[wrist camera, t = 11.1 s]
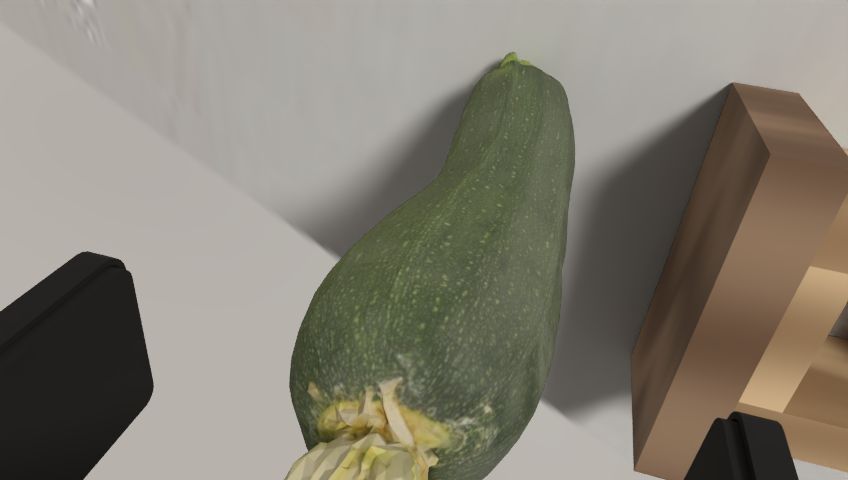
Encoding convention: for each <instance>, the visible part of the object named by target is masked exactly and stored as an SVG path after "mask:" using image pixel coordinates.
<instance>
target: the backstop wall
mask: <svg viewBox="0 0 848 480" xmlns="http://www.w3.org/2000/svg"><path fill="white" fill-rule="evenodd" d="M847 194H848V155H847V154H846V153H845V152H844V150H843V149H842V148H841V147H840V145H839V144H838V143H837V141H836V140H835V139H834V138H833V136H832V135H831V134H830V133H829V131H828V130H827V129H826V127H825V126H824V125H823V124H822V122H821V121H820V120H819V119H818V117H817V116H816V115H815V114H814V112H813V111H812V110H811V108H810V107H809V106H808V105H807V103H806V102H805V101H804V100H803V98H802V97H801V96H800V94H799V93H793V92H787V91H781V90H775V89H769V88H763V87H757V86H751V85H745V84H739V83H732V86H731V88H730V91H729V94H728V96H727V99H726V102H725V104H724V107H723V110H722V113H721V115H720V118H719V121H718V123H717V126H716V129H715V131H714V134H713V137H712V140H711V142H710V145H709V148H708V150H707V153H706V156H705V158H704V161H703V164H702V166H701V169H700V172H699V175H698V177H697V180H696V183H695V185H694V188H693V191H692V193H691V196H690V199H689V202H688V204H687V207H686V210H685V212H684V215H683V218H682V220H681V223H680V226H679V228H678V231H677V234H676V237H675V239H674V242H673V245H672V247H671V250H670V253H669V255H668V258H667V261H666V264H665V266H664V269H663V272H662V274H661V277H660V280H659V282H658V285H657V288H656V290H655V293H654V296H653V299H652V301H651V304H650V307H649V309H648V312H647V315H646V317H645V320H644V323H643V325H642V328H641V331H640V334H639V336H638V339H637V342H636V344H635V347H634V350H633V352H632V355H631V383H632V419H633V456H634V471H636V472H640V473H644V474H647V475H651V476H655V477H658V478H662V479H666V480H684V478H685V476H686V474H687V472H688V470H689V468H690V466H691V464H692V462H693V460H694V458H695V456H696V454H697V452H698V450H699V449H700V447H701V445H702V443H703V441H704V439H705V437H706V435H707V433H708V431H709V429H710V427H711V425H712V423H713V422H714V420H715V419H716V418H717V417H718V418H723V419H727V418H728V417H729V415H730V414H731V413H732V412H733V411H734V409H735V408H736V406H737V404H738V402H739V400H740V398H741V396H742V394H743V392H744V390H745V388H746V387H747V385H748V383H749V381H750V379H751V377H752V375H753V373H754V371H755V369H756V367H757V366H758V364H759V362H760V360H761V358H762V356H763V354H764V352H765V350H766V348H767V346H768V345H769V343H770V341H771V339H772V337H773V335H774V333H775V331H776V329H777V327H778V326H779V324H780V322H781V320H782V318H783V316H784V314H785V312H786V310H787V308H788V306H789V305H790V303H791V301H792V299H793V297H794V295H795V293H796V291H797V289H798V287H799V285H800V284H801V282H802V280H803V278H804V276H805V274H806V272H807V270H808V268H809V266H810V264H811V263H812V261H813V259H814V257H815V255H816V253H817V251H818V249H819V247H820V245H821V244H822V242H823V240H824V238H825V236H826V234H827V232H828V230H829V228H830V226H831V224H832V223H833V221H834V219H835V217H836V215H837V213H838V211H839V209H840V207H841V205H842V203H843V202H844V200H845V198H846V196H847Z"/></svg>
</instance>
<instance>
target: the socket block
mask: <svg viewBox="0 0 848 480" xmlns="http://www.w3.org/2000/svg"><path fill="white" fill-rule="evenodd" d="M843 150H844V152H845V153H846V154H847V155H848V149H843ZM847 302H848V194H847V196H846V198H845V200H844V202H843V203H842V205H841V207H840V209H839V211H838V213H837V215H836V217H835V219H834V221H833V223H832V224H831V226H830V228H829V230H828V232H827V234H826V236H825V238H824V240H823V242H822V244H821V245H820V247H819V249H818V251H817V253H816V255H815V257H814V259H813V261H812V263H811V264H810V266H809V268H808V270H807V272H806V274H805V276H804V278H803V280H802V282H801V284H800V285H799V287H798V289H797V291H796V293H795V295H794V297H793V299H792V301H791V303H790V305H789V306H788V308H787V310H786V312H785V314H784V316H783V318H782V320H781V322H780V324H779V326H778V327H777V329H776V331H775V333H774V335H773V337H772V339H771V341H770V343H769V345H768V346H767V348H766V350H765V352H764V354H763V356H762V358H761V360H760V362H759V364H758V366H757V367H756V369H755V371H754V373H753V375H752V377H751V379H750V381H749V383H748V385H747V387H746V388H745V390H744V392H743V394H742V396H741V398H740V400H739V402H738V404H737V406H736V408H735V409H734V411H738V412H742V413H746V414H750V415H754V416H758V417H762V418H766V419H770V420H774V421H778V422H779V423H780V424H781V425H782V427H783V430H784V432H785V436H786V439H787V442H788V446H789V449H790V453H791V456H792V458H794V459H798V460H802V461H806V462H810V463H814V464H817V465H821V466H825V467H829V468H833V469H837V470H841V471H844V472H848V340H847V339H842V338H838V337H833V336H829V335H828V334H829V333H830V331H831V329H832V327H833V326H834V324H835V322H836V321H837V319H838V317H839V315H840V314H841V312H842V310H843V309H844V307H845V305H846V304H847ZM734 411H733V412H734Z"/></svg>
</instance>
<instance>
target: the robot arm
mask: <svg viewBox="0 0 848 480" xmlns="http://www.w3.org/2000/svg"><path fill="white" fill-rule="evenodd" d="M153 387H154V385H153V378H152V373H151V368H150V364H149V358H148V354H147V349H146V344H145V339H144V333H143V328H142V324H141V318H140V313H139V308H138V303H137V298H136V293H135V288H134V283H133V278H132V275H131V273H130V272H129V271H127V270H126V268H125V265H124V263H123V262H122V261H121V260H119V259H116V258H112V257H108V256H104V255H100V254H96V253H92V252H88V251H87V252H81V253H80V254H78V255H76V256H75V257H73V258H72V259H71V260H69V261H68V262H67V263H65V264H64V265H63V266H61V267H60V268H58V269H57V270H56V271H54V272H53V273H52V274H50V275H49V276H48V277H46V278H45V279H44V280H42V281H41V282H40V283H38V284H37V285H35V286H34V287H33V288H31V289H30V290H29V291H28V292H26V293H25V294H23V295H22V296H21V297H19V298H18V299H17V300H15V301H14V302H13V303H11V304H10V305H8V306H7V307H6V308H4V309H3V310H2V311H0V480H83V479H84V478H85V477H86V475H87V474H88V473H89V472H90V471H91V470H92V469H93V467H94V466H95V465H96V464H97V463H98V462H99V460H100V459H101V458H102V457H103V456H104V454H105V453H106V452H107V451H108V450H109V449H110V447H111V446H112V445H113V444H114V443H115V442H116V440H117V439H118V438H119V437H120V436H121V435H122V433H123V432H124V431H125V430H126V429H127V428H128V426H129V425H130V424H131V423H132V422H133V420H134V419H135V418H136V417H137V416H138V415H139V413H140V412H141V411H142V410H143V409H144V407H145V406H146V405H147V403H148V402H149V400H150V398H151V396H152V392H153ZM684 480H799V479H798V476H797V473H796V469H795V466H794V463H793V459H792V456H791V453H790V449H789V446H788V442H787V439H786V436H785V432H784V430H783V427H782V425H781V424H780V423H779V422H778V421H774V420H770V419H766V418H762V417H758V416H754V415H750V414H746V413H742V412H738V411H734V412H732V413H731V414H730V415H729V417H728V418H727V419H723V418H718V417H717V418H716V419H715V420H714V422H713V423H712V425H711V427H710V429H709V431H708V433H707V435H706V437H705V439H704V441H703V443H702V445H701V447H700V449H699V450H698V452H697V454H696V456H695V458H694V460H693V462H692V464H691V466H690V468H689V470H688V472H687V474H686V476H685V478H684Z"/></svg>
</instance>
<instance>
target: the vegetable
mask: <svg viewBox="0 0 848 480" xmlns="http://www.w3.org/2000/svg"><path fill="white" fill-rule="evenodd" d="M574 167H575V141H574V130H573V124H572V118H571V115H570V110H569V104H568V99H567V95H566V93H565V90H564V88H563V86H562V85H561V83H560V82H559V81H557V80H556V79H555V78H553V77H552V76H550V75H548V74H546V73H545V72H543V71H542V70H540V69H538V68H536V67H535V66H534V65H532V64H530V62H528V61H524V60H521V61H519V60H518V59H517V55H516V53H515V52H512V53H509V54H507V55H506V56H505V58H504V60H503V62H502V64H501V66H500V67H499V68H496V69H495V70H494V71H493V72H491V73H488V74H486V75H485V76H484V77H483V78H482V79H481V80H480V81H479V82H478V84H477V86H476V87H475V89H474V91H473V92H472V94H471V96H470V98H469V100H468V102H467V104H466V106H465V108H464V111H463V115H462V118H461V122H460V125H459V127H458V129H457V132H456V134H455V136H454V139H453V142H452V145H451V148H450V151H449V154H448V157H447V160H446V164H445V166H444V168H443V169H442V171H441V172H440V174H439V176H438V177H437V178H436V179H435V180H434V181H433V182H432V183H431V184H430V185H429V186H427V187H426V188H425V189H423V190H422V191H421V192H419V193H418V194H417V195H415V196H414V197H412V198H411V199H409V200H408V201H407V202H405V203H404V204H402V205H401V206H399V207H398V208H396V209H395V210H394V211H392V212H391V213H390V214H389V215H388V216H386V217H385V218H384V219H383V220H382V221H381V222H379V223H378V224H377V225H376V226H375V227H374V228H372V229H371V230H370V231H369V232H368V233H367V234H366V235H364V236H363V237H362V238H361V239H360V240H359V241H358V242H357V243H356V244H355V245H354V246H353V247H352V248H351V249H350V250H349V251H348V252H347V253H346V254H345V255H344V256H343V257H342V258H341V259H340V261H339V262H338V263H337V264H336V265H335V266H334V267H333V268H332V270H331V271H330V272H329V273H328V275H327V276H326V278H325V279H324V281H323V282H322V284H321V285H320V287H319V288H318V289H317V291H316V292H315V294H314V296H313V299H312V301H311V303H310V306H309V308H308V310H307V313H306V315H305V317H304V320H303V321H302V324H301V327H300V329H299V332H298V336H297V340H296V343H295V347H294V351H293V354H292V360H291V370H290V385H289V386H290V392H291V398H292V403H293V406H294V409H295V412H296V415H297V418H298V422H299V425H300V427H301V431H302V434H303V437H304V440H305V444H306V447H307V449H308V452H307V453H306V454H304V455H303V456H302V457H301V458H300V459H298V460H297V461H296V462H295V463H294V464H293V465H292V467H291V469H290V471H289V472H288V474H287V476H286V478H285V479H284V480H482V479H483V478H485V477H486V476H487V475H488V474H489V473H490V472H491V471H492V470H493V469H494V468H495V467H496V465H497V464H498V463H499V462H500V461H501V460H502V458H504V456H505V455H506V454H507V453H508V452H509V451H510V449H511V448H512V447H513V446H514V444H515V443H516V442H517V441H518V439H519V438H520V436H521V434H522V433H523V431H524V430H525V428H526V426H527V425H528V423H529V421H530V420H531V418H532V416H533V414H534V412H535V410H536V408H537V405H538V403H539V400H540V397H541V394H542V391H543V388H544V385H545V382H546V379H547V376H548V373H549V369H550V364H551V361H552V357H553V354H554V347H555V339H556V333H557V327H558V323H559V318H560V306H561V298H562V266H563V262H564V258H565V251H566V239H567V222H568V207H569V200H570V192H571V186H572V180H573V174H574Z"/></svg>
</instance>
